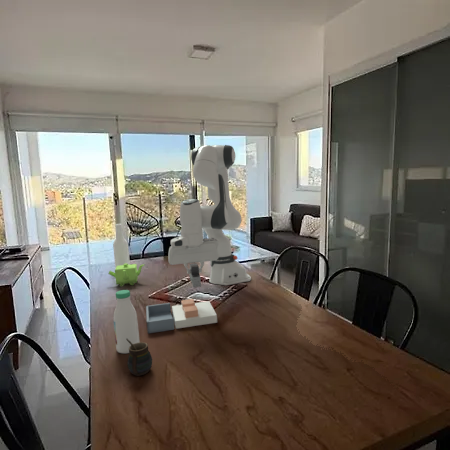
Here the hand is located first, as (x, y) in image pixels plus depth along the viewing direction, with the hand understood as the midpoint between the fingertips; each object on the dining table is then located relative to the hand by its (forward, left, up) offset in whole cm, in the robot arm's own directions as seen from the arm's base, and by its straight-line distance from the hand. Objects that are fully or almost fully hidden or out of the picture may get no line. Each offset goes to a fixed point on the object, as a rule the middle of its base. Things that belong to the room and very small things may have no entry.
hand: (194, 272), depth 142 cm
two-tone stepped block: (0, 0, -4) cm, 4 cm away
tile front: (+3, +8, -14) cm, 17 cm away
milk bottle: (+27, +22, -18) cm, 39 cm away
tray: (+15, +4, -17) cm, 24 cm away
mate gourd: (+23, +38, -18) cm, 47 cm away
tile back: (+3, 0, -14) cm, 15 cm away
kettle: (+30, -55, -18) cm, 65 cm away
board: (+2, +4, -17) cm, 18 cm away
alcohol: (+34, -84, -18) cm, 93 cm away
